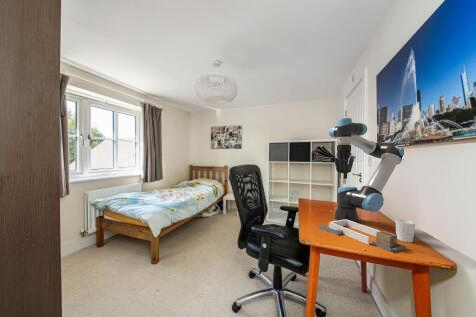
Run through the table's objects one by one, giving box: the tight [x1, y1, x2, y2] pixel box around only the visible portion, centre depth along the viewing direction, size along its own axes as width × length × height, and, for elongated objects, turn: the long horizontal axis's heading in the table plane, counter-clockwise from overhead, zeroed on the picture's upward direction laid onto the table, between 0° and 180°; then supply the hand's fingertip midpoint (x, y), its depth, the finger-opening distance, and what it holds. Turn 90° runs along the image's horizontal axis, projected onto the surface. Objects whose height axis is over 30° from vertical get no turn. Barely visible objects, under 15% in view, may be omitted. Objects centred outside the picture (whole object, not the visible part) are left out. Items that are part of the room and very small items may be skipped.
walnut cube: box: [375, 230, 398, 249], centre depth 95 cm, size 6×6×6 cm
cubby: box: [328, 219, 381, 245], centre depth 109 cm, size 15×24×4 cm, turn 23°
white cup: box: [395, 218, 416, 243], centre depth 102 cm, size 8×8×10 cm
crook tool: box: [318, 224, 343, 236], centre depth 112 cm, size 5×12×2 cm, turn 31°
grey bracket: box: [371, 241, 406, 253], centre depth 94 cm, size 10×9×1 cm
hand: (343, 184), depth 114 cm, fingers closed
